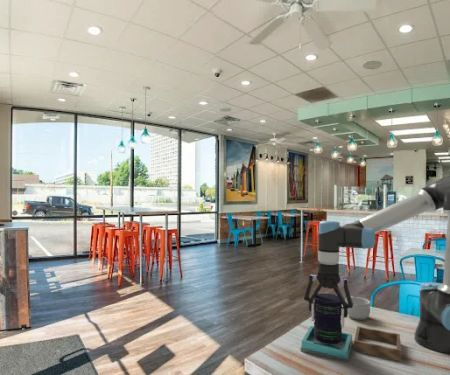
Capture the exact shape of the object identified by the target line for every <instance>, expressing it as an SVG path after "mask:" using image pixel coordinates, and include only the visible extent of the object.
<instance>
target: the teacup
mask: <svg viewBox="0 0 450 375" xmlns="http://www.w3.org/2000/svg"><path fill="white" fill-rule="evenodd" d="M344 299H345V301H346V303H347V304H348V301H347V298H344ZM351 299H352V302H353V307H352V308H348V316H349V317H350V318H351V319H354V320H359V321H363V320H365V319H367V318H369V316H370V314H371V301H370V300H369V299H367V298H364V297H358V296H354V295H353V296H352V295H351Z"/></svg>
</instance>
